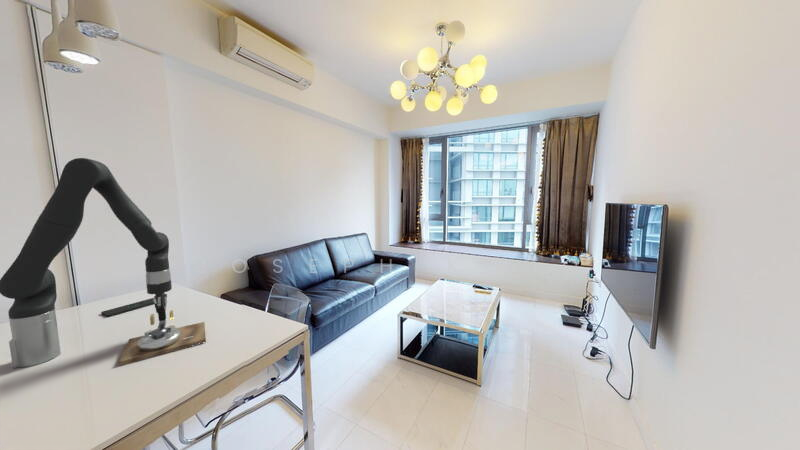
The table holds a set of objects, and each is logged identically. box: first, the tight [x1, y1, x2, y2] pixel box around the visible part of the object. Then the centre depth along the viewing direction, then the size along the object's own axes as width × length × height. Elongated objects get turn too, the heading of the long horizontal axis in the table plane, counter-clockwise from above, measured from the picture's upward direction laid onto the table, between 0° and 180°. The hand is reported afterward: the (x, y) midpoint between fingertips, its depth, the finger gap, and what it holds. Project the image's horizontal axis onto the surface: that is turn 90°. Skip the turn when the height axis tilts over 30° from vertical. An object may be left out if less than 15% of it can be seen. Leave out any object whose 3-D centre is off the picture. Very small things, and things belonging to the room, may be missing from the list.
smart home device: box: [100, 297, 155, 318], centre depth 134 cm, size 8×2×20 cm
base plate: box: [118, 321, 207, 366], centre depth 103 cm, size 24×18×2 cm
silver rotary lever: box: [138, 310, 180, 351], centre depth 103 cm, size 12×20×7 cm, turn 39°
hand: (162, 320), depth 108 cm, fingers closed
